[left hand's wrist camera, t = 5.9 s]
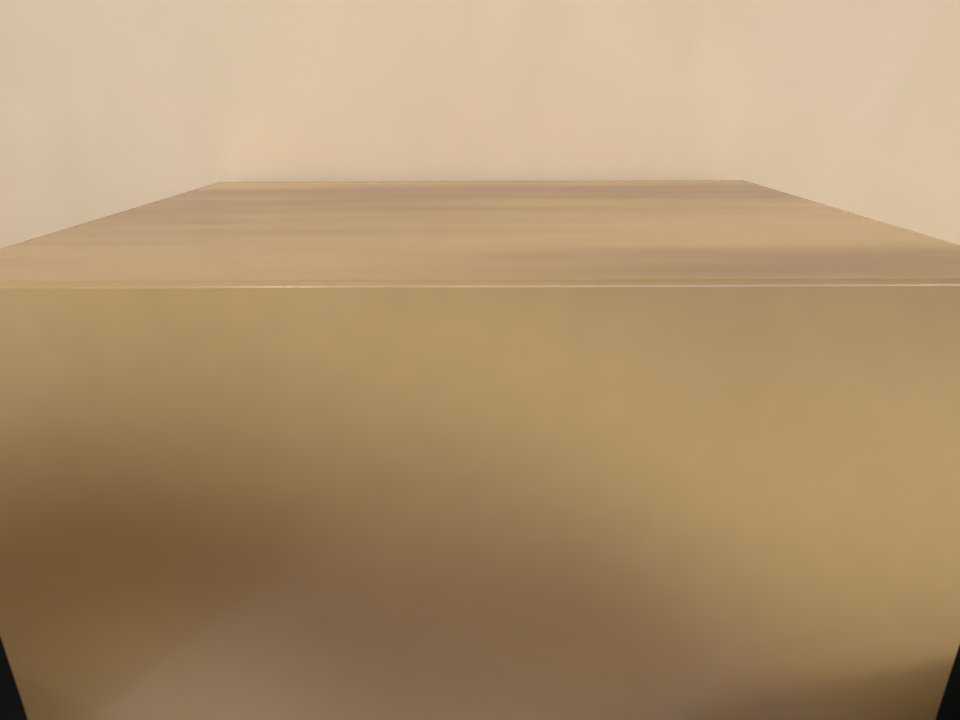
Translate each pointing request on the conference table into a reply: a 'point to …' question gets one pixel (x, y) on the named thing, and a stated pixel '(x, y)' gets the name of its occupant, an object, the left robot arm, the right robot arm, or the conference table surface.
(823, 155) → the conference table surface
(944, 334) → the thick board
